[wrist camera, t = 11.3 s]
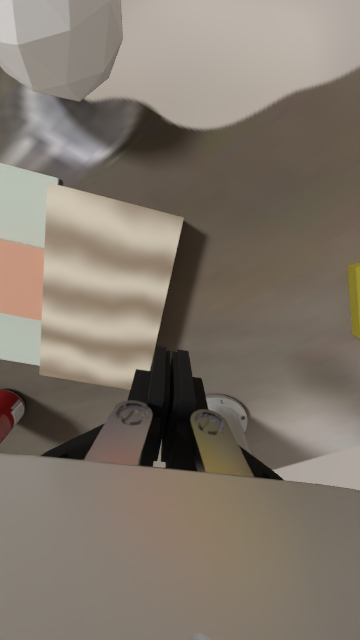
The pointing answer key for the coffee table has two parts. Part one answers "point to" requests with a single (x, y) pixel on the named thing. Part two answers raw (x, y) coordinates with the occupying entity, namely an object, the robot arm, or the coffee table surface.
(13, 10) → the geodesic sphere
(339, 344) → the coffee table surface
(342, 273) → the coffee table surface
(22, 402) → the soda can
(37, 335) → the mat
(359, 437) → the coffee table surface
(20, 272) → the coaster
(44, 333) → the platform
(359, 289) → the flat olive board
